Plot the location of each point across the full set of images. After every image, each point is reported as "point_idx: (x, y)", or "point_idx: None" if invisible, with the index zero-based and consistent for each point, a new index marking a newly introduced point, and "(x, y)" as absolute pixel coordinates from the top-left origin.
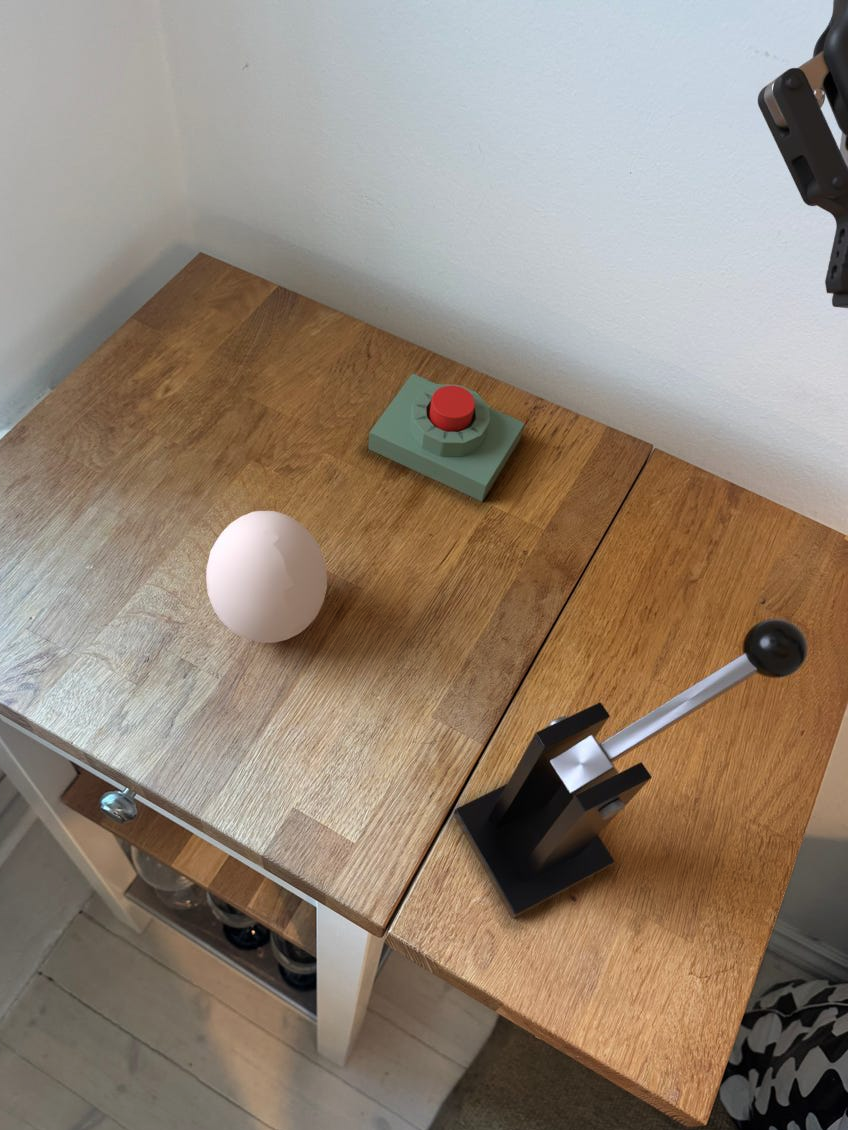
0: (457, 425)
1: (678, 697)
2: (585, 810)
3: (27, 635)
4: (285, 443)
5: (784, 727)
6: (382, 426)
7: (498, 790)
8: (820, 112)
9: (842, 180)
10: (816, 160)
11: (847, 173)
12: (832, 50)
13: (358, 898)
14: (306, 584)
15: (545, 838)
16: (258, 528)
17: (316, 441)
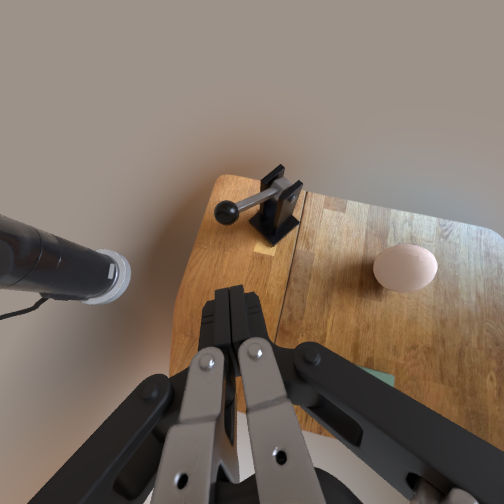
0: None
1: (258, 199)
2: (280, 164)
3: (456, 241)
4: (422, 363)
5: (194, 286)
6: (390, 382)
7: (288, 231)
8: (423, 457)
9: (309, 357)
10: (361, 372)
11: (305, 372)
12: None
13: (317, 194)
14: (391, 257)
15: None
16: (429, 261)
17: (410, 369)
